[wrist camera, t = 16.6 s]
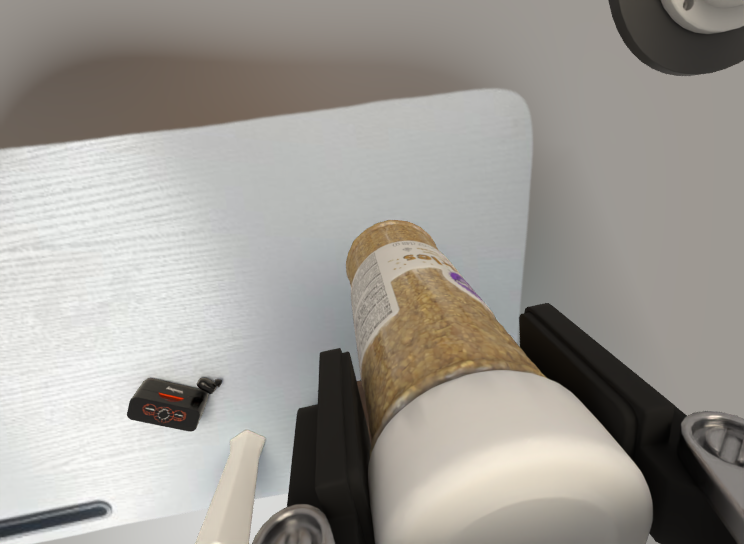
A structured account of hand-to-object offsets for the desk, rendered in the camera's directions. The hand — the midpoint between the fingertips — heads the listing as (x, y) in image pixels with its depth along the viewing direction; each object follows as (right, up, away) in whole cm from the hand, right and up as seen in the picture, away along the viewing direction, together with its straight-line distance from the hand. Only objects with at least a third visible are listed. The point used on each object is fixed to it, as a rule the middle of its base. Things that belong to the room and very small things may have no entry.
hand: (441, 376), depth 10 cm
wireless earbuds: (-21, -9, +29) cm, 37 cm away
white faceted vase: (-16, -17, +32) cm, 40 cm away
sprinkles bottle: (-1, +3, +8) cm, 9 cm away
